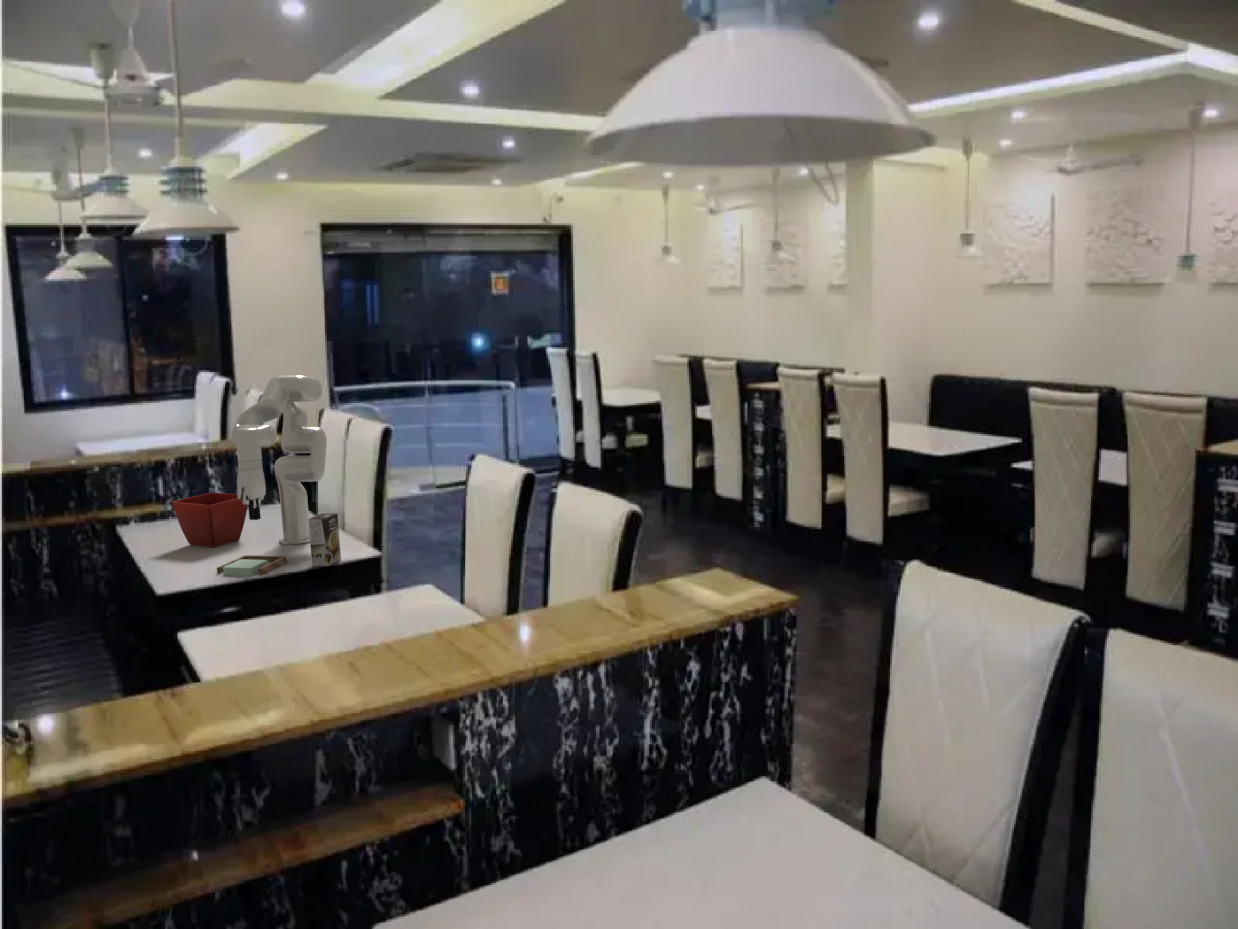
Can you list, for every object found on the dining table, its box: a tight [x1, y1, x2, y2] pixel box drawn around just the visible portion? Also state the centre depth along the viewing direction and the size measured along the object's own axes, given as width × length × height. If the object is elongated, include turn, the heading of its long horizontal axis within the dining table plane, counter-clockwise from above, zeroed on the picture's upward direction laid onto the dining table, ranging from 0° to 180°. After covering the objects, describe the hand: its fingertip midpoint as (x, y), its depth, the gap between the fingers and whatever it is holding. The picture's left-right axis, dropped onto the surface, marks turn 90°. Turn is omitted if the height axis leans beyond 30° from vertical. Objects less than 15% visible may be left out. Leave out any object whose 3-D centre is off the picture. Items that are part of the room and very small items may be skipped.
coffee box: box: [309, 512, 342, 567], centre depth 336 cm, size 9×6×16 cm
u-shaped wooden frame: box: [216, 554, 288, 576], centre depth 333 cm, size 16×16×2 cm
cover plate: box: [222, 559, 269, 576], centre depth 329 cm, size 10×10×3 cm
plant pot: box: [171, 492, 248, 548], centre depth 369 cm, size 19×19×17 cm
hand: (255, 519), depth 334 cm, fingers closed
